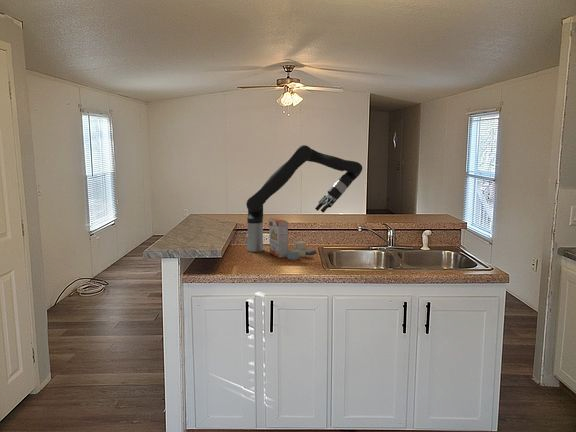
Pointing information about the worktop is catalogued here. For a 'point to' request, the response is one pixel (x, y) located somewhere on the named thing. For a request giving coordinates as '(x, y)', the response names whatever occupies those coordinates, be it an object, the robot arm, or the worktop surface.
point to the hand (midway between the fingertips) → (319, 210)
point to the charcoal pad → (310, 251)
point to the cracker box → (278, 237)
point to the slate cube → (293, 254)
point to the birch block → (300, 248)
